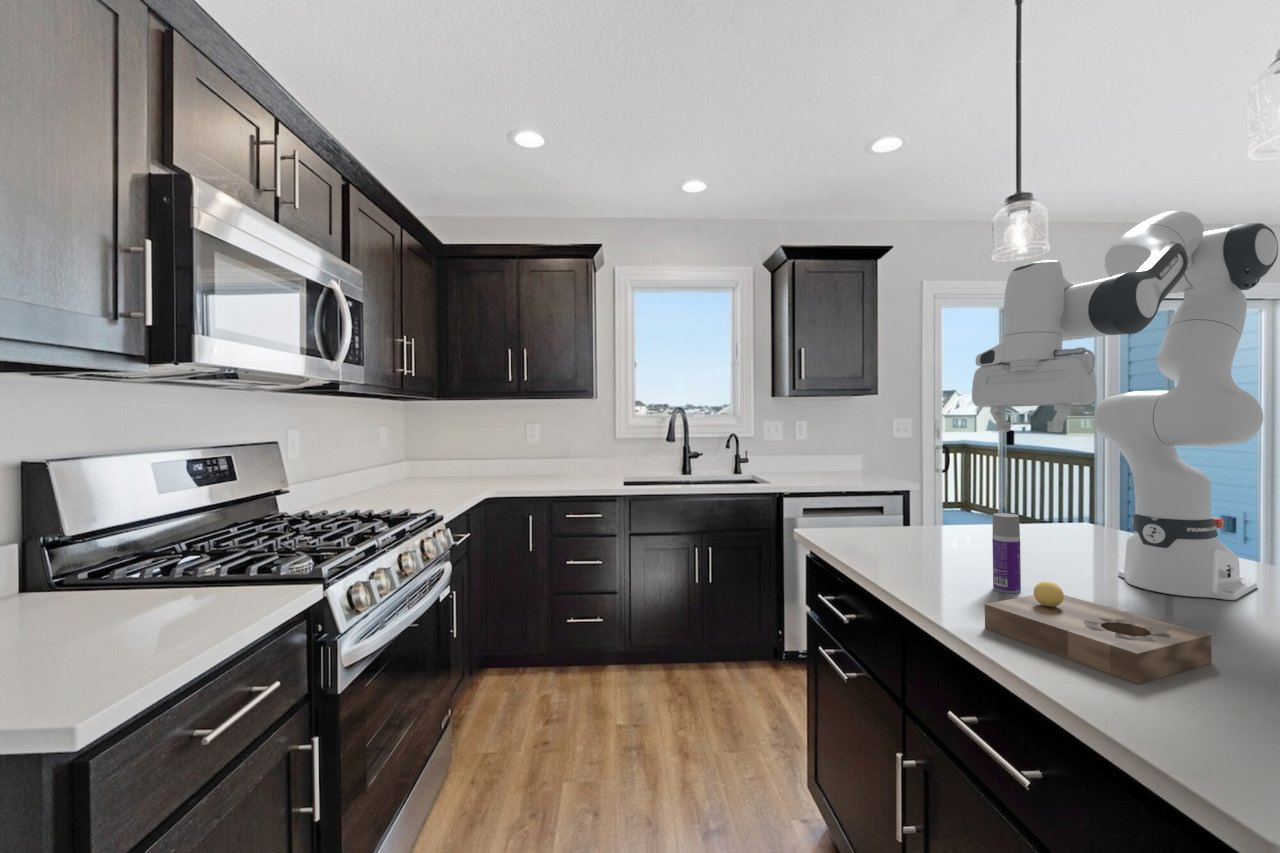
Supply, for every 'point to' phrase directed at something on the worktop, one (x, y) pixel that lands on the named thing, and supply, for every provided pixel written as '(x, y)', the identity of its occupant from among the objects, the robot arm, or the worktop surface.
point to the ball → (1048, 594)
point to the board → (1102, 637)
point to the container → (1006, 553)
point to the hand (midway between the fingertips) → (1027, 431)
